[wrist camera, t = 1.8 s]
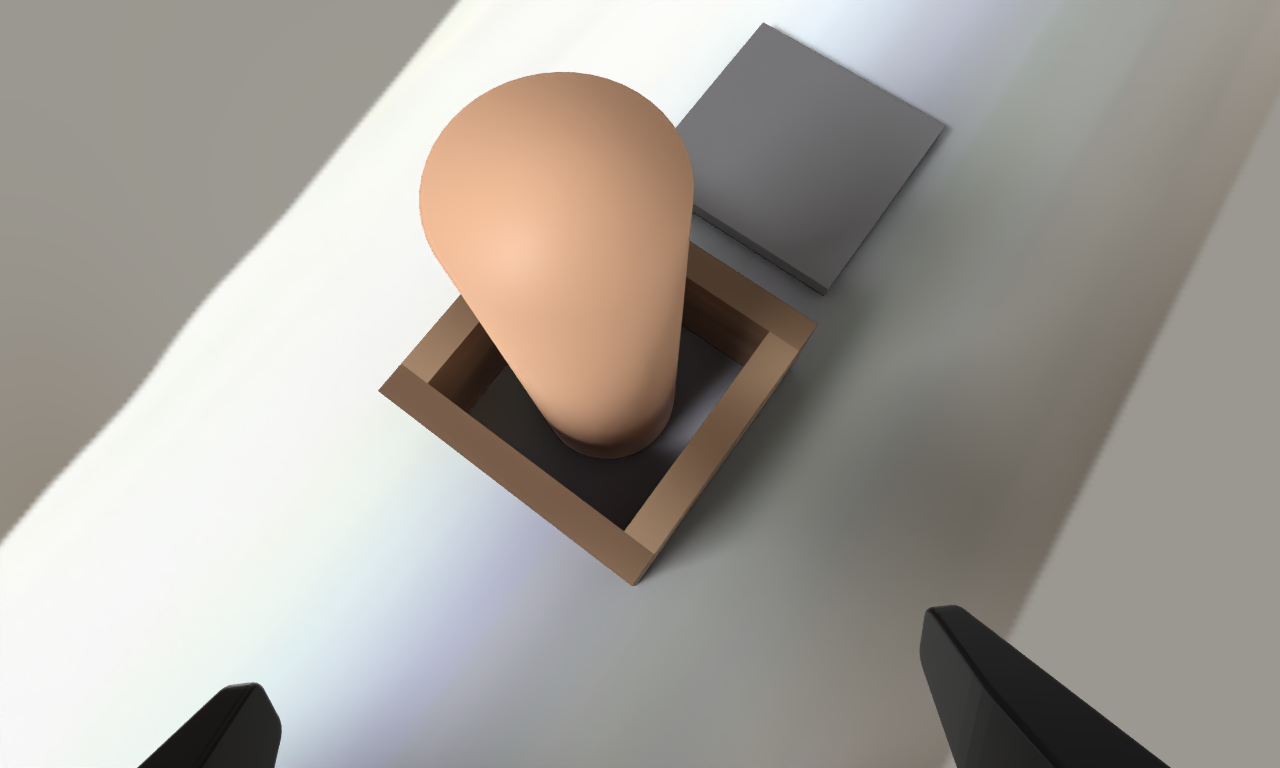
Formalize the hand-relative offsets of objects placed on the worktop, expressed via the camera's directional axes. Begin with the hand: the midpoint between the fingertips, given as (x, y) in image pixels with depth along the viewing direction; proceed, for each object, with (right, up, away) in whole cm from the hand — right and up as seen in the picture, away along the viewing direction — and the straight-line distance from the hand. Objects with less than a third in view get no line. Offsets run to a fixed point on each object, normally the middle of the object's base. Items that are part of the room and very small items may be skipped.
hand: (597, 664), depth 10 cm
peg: (0, +3, +15) cm, 15 cm away
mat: (+6, +12, +17) cm, 22 cm away
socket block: (0, +3, +14) cm, 15 cm away
